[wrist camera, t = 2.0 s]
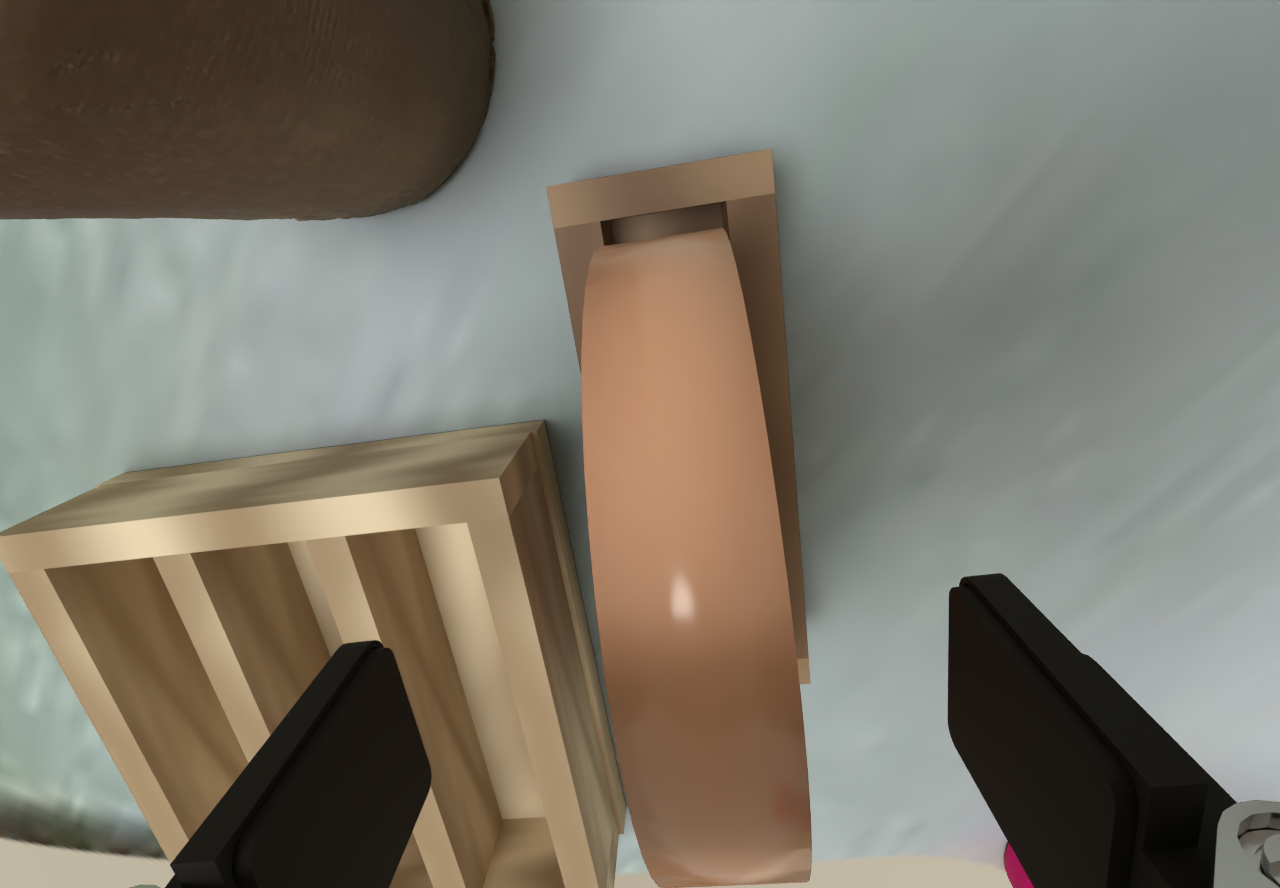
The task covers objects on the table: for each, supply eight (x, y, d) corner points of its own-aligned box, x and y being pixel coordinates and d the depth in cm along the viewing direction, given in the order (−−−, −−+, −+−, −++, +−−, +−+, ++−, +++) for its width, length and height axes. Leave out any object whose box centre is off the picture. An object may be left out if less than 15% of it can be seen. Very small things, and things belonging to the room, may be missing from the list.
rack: (544, 419, 21) (506, 476, 17) (626, 808, 27) (614, 930, 23) (123, 472, 23) (-17, 538, 18) (286, 827, 29) (211, 945, 24)
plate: (708, 223, 18) (766, 241, 6) (749, 605, 22) (831, 1074, 10) (626, 235, 18) (517, 278, 6) (682, 611, 23) (684, 1076, 10)
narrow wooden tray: (762, 159, 18) (780, 147, 15) (798, 619, 24) (816, 682, 20) (562, 192, 19) (538, 188, 16) (640, 633, 24) (634, 696, 21)
